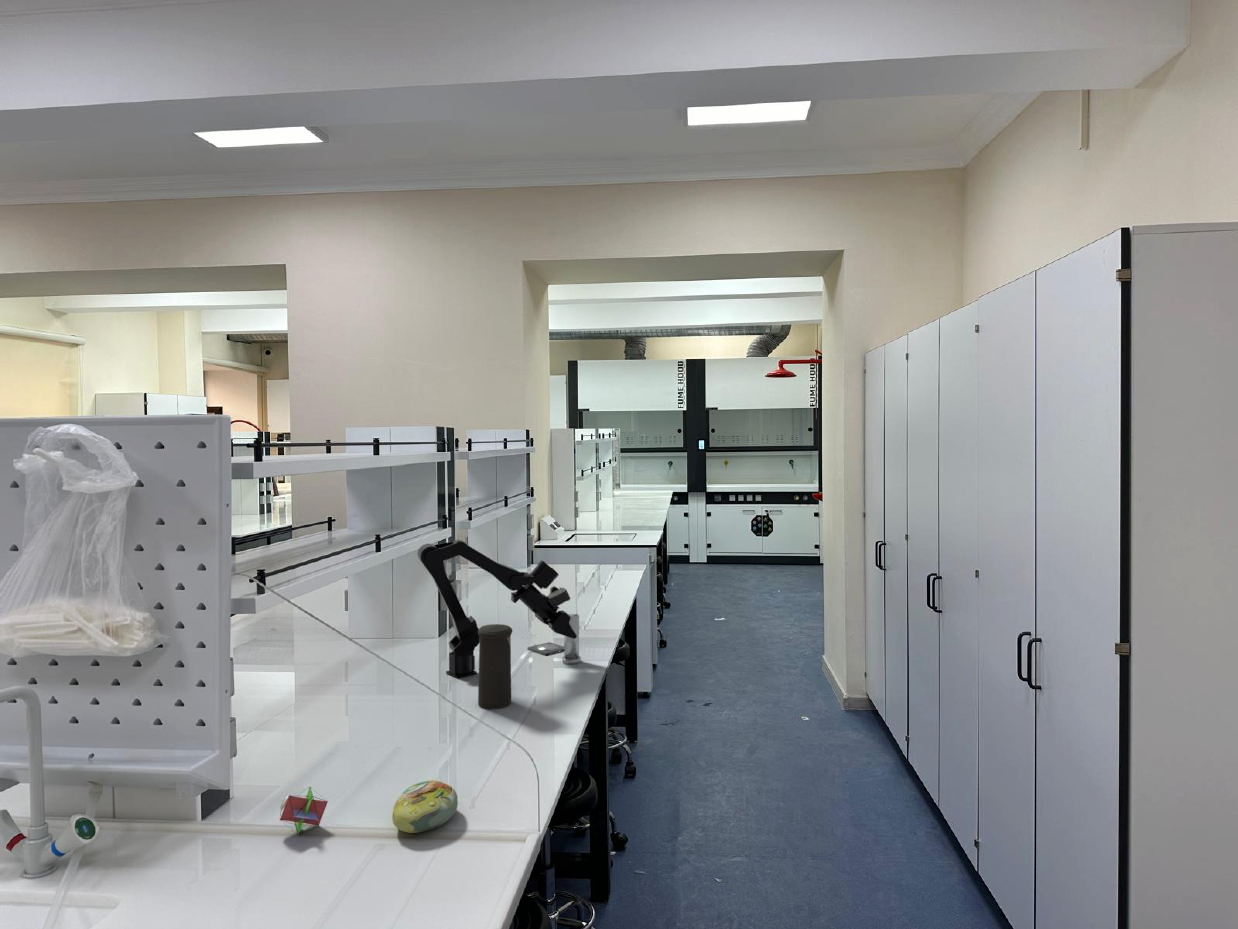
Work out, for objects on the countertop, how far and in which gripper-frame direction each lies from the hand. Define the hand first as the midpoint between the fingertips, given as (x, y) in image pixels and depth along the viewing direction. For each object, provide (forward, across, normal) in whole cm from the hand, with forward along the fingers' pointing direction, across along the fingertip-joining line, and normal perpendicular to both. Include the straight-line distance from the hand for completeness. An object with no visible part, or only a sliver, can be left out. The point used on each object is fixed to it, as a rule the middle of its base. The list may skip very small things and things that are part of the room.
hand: (570, 633), depth 234 cm
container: (-15, -28, +27) cm, 42 cm away
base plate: (+4, +15, +8) cm, 17 cm away
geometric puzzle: (-47, -77, +59) cm, 108 cm away
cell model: (-33, -81, +45) cm, 99 cm away
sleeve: (+6, 0, +6) cm, 9 cm away
